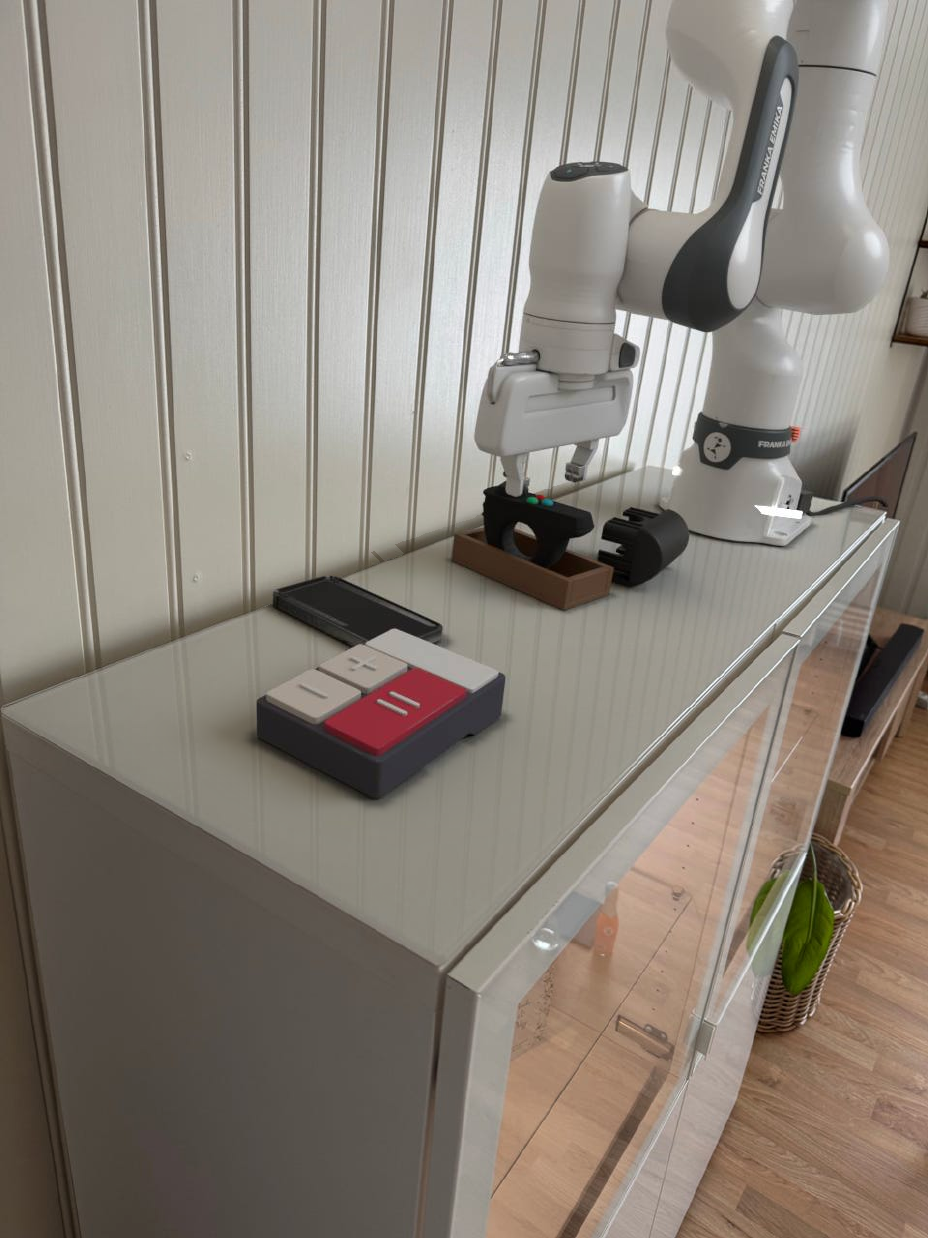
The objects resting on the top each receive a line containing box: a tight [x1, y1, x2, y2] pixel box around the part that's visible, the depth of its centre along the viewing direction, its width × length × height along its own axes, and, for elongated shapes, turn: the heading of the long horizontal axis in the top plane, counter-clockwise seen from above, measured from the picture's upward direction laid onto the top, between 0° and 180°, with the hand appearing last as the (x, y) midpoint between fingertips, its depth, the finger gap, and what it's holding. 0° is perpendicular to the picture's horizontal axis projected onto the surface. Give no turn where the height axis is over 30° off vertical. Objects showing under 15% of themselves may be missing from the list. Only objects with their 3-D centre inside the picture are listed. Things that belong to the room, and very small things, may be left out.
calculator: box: [256, 629, 507, 800], centre depth 66 cm, size 11×4×15 cm
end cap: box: [596, 506, 690, 588], centre depth 102 cm, size 10×7×7 cm
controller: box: [481, 470, 595, 568], centre depth 96 cm, size 4×12×10 cm, turn 56°
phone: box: [272, 575, 444, 648], centre depth 83 cm, size 8×1×15 cm
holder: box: [451, 526, 614, 611], centre depth 98 cm, size 8×16×3 cm, turn 46°
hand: (546, 487), depth 95 cm, fingers open, 8 cm apart
